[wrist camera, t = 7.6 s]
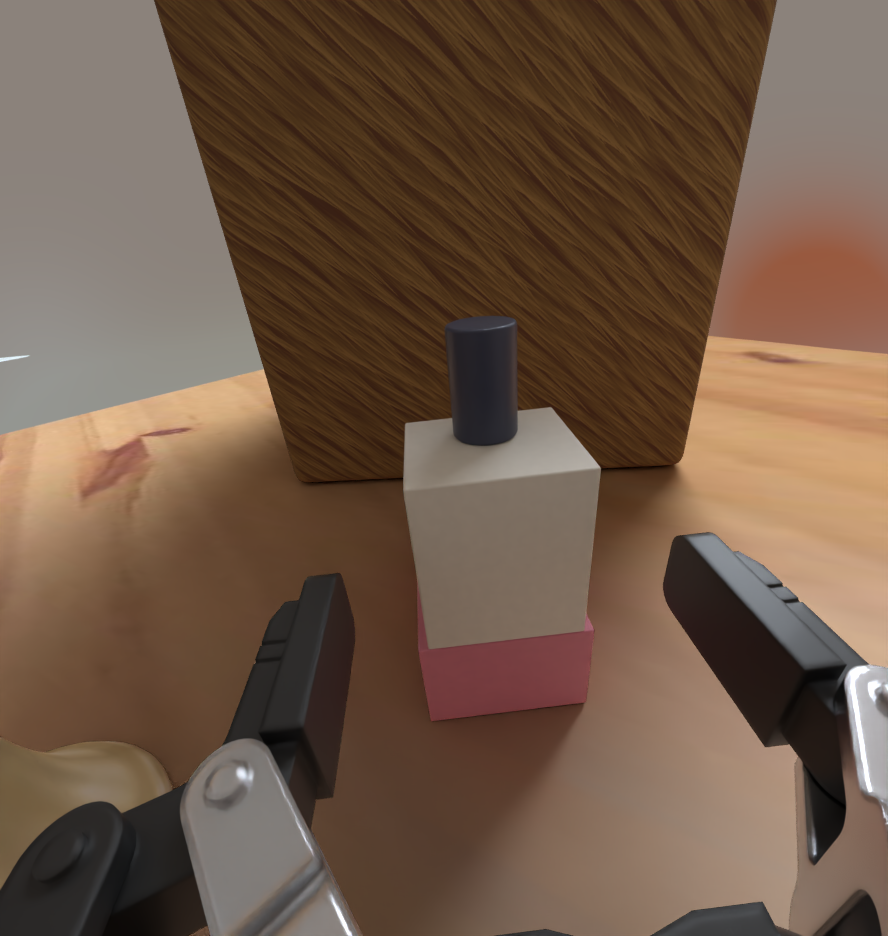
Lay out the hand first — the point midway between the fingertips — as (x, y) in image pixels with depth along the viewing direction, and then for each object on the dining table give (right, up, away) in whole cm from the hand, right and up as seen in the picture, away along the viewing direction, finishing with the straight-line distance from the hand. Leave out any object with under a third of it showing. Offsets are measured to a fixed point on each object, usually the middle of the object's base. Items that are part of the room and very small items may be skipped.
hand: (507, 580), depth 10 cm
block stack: (0, -3, +8) cm, 8 cm away
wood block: (+2, +8, +28) cm, 29 cm away
